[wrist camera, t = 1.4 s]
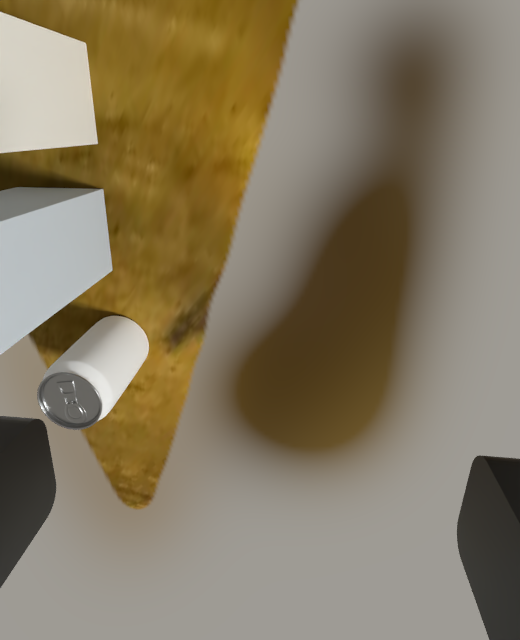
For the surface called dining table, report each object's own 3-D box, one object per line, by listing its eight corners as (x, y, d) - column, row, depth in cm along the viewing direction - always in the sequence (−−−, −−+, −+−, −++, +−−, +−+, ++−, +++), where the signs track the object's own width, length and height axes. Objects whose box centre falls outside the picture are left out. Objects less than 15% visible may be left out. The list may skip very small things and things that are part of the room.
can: (100, 370, 52) (46, 436, 41) (84, 317, 50) (21, 371, 39) (156, 365, 51) (115, 431, 40) (142, 310, 49) (94, 365, 38)
